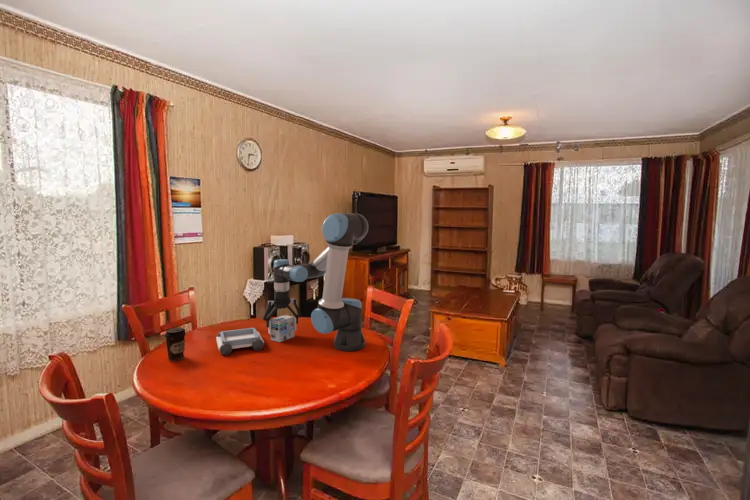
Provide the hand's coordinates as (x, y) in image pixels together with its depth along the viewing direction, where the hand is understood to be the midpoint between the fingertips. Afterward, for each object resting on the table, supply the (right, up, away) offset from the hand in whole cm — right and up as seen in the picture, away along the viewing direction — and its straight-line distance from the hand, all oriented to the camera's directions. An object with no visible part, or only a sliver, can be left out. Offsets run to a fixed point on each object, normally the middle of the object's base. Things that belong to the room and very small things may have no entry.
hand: (282, 331), depth 198 cm
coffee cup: (-40, -6, -27) cm, 49 cm away
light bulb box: (0, -4, 0) cm, 4 cm away
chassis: (-18, -4, -10) cm, 21 cm away
